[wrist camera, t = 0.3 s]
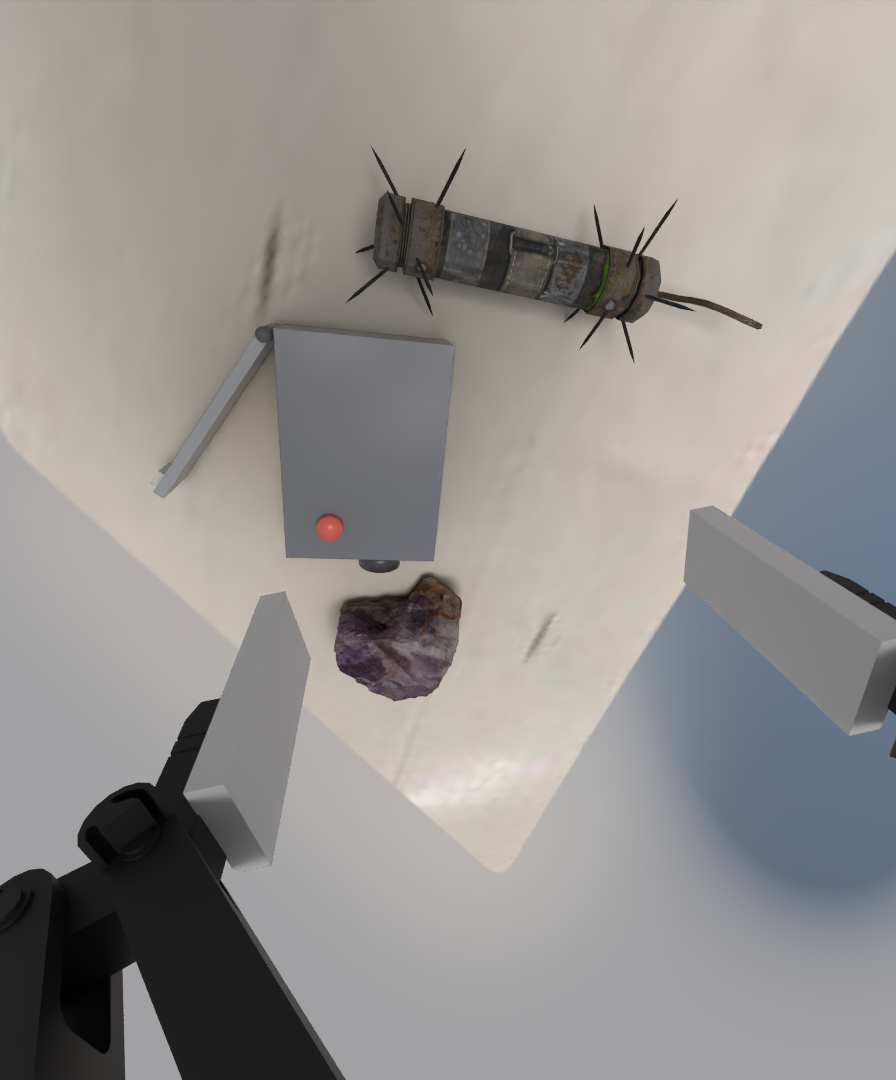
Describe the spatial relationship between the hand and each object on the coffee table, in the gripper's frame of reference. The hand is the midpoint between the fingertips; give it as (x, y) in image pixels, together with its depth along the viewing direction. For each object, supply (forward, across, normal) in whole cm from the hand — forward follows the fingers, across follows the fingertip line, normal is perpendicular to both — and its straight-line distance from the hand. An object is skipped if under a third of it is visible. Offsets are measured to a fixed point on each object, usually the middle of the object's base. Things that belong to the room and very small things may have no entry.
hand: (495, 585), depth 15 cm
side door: (+27, -15, +3) cm, 31 cm away
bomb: (+28, +12, +8) cm, 31 cm away
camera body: (+27, -5, -2) cm, 28 cm away
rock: (+28, -6, -20) cm, 35 cm away
